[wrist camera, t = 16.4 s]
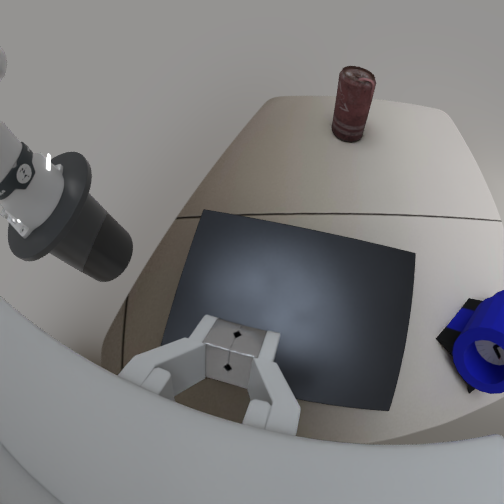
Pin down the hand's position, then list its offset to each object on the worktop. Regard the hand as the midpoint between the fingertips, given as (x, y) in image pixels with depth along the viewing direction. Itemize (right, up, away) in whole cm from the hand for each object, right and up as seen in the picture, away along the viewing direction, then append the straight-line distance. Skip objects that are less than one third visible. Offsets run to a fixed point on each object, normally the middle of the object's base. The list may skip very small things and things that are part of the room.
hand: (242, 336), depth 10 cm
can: (+19, +26, +36) cm, 48 cm away
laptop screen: (+6, -4, +22) cm, 23 cm away
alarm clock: (+35, -11, +19) cm, 41 cm away
